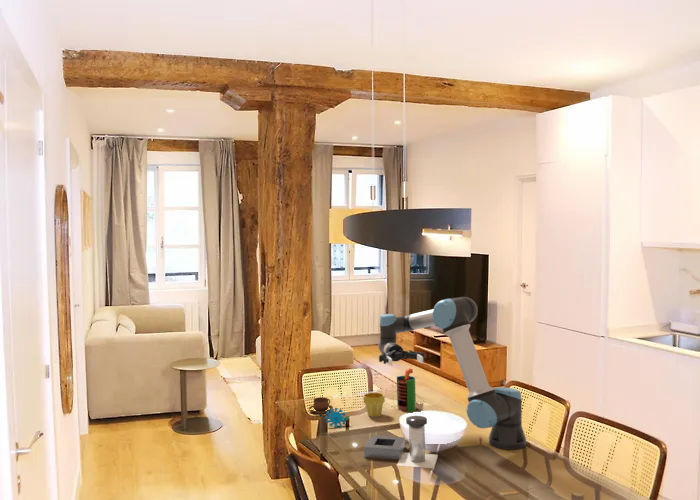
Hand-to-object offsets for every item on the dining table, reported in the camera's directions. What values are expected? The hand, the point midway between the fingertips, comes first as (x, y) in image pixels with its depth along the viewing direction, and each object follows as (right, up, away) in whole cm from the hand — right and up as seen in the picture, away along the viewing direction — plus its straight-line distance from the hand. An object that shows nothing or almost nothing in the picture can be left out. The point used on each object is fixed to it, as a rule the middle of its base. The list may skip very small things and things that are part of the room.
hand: (407, 361), depth 258 cm
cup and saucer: (-39, -35, +50) cm, 72 cm away
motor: (+5, -34, +52) cm, 62 cm away
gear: (-30, -35, +27) cm, 54 cm away
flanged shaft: (+2, -35, -20) cm, 40 cm away
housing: (-10, -36, -11) cm, 38 cm away
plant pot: (-12, -34, +42) cm, 56 cm away
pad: (+2, -36, -20) cm, 41 cm away
